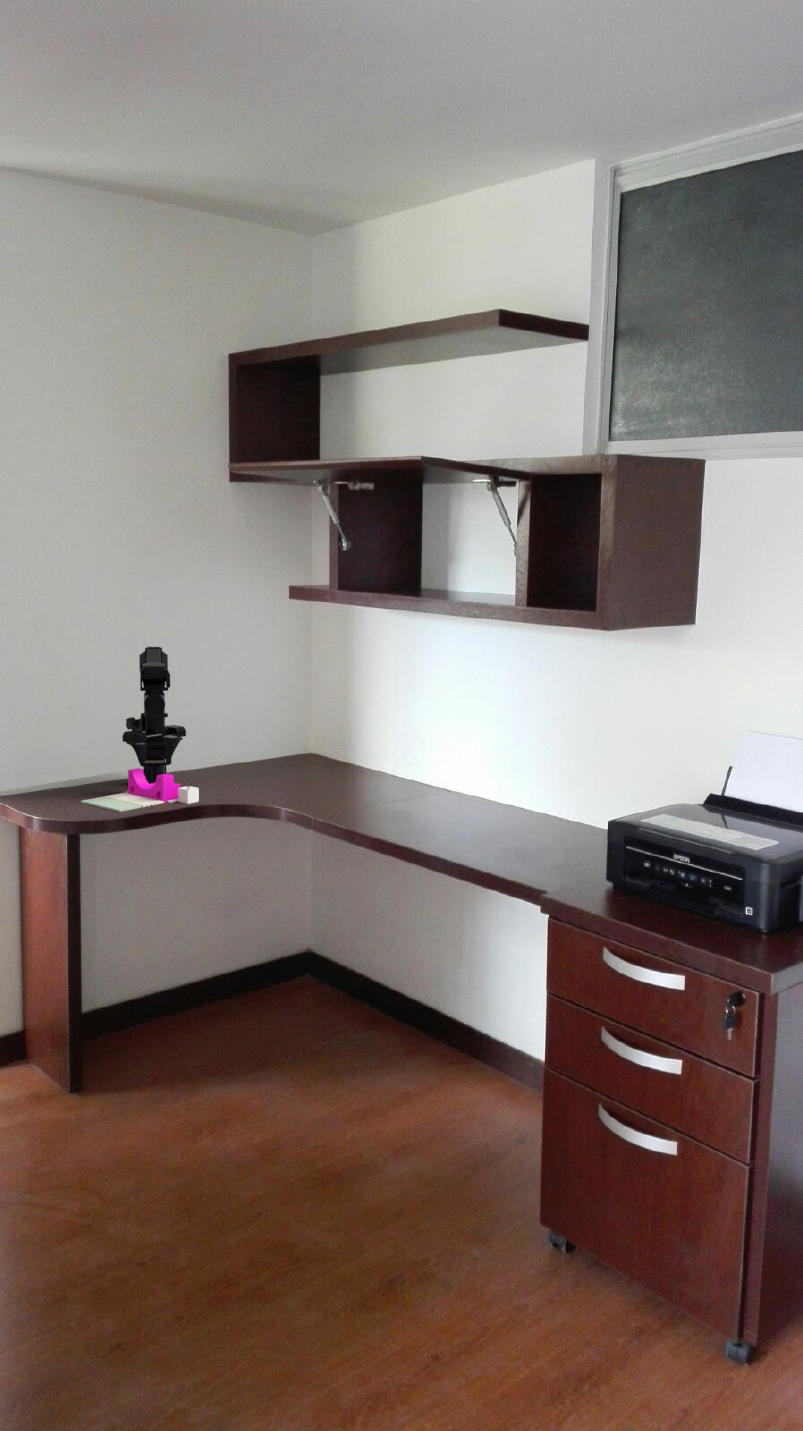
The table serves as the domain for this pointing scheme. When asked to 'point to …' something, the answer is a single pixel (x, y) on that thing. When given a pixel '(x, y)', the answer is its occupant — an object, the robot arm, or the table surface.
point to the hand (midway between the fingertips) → (155, 764)
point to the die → (188, 794)
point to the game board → (124, 802)
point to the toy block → (152, 786)
